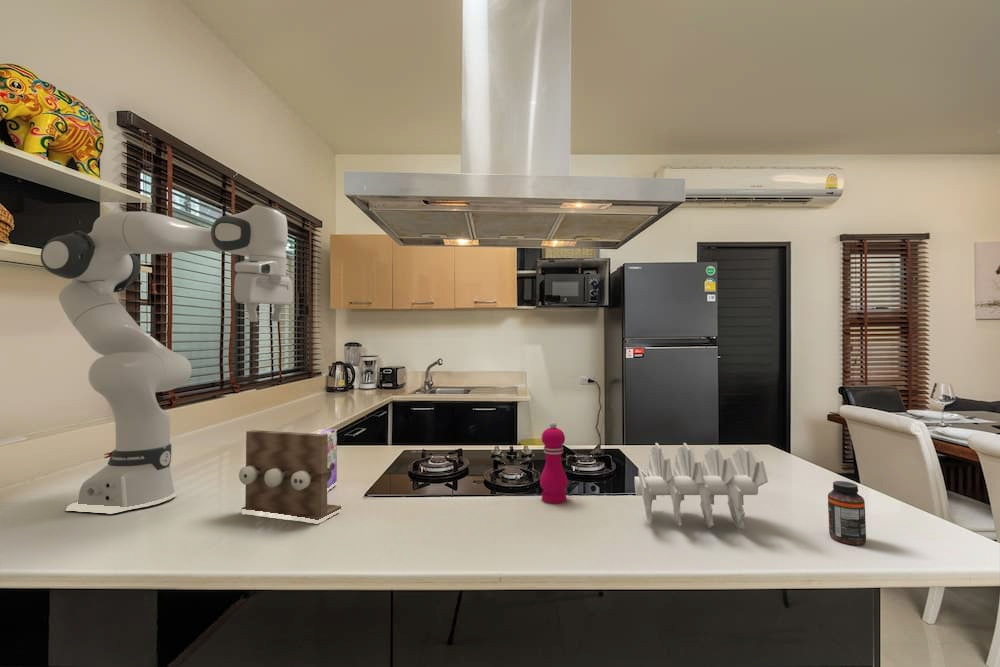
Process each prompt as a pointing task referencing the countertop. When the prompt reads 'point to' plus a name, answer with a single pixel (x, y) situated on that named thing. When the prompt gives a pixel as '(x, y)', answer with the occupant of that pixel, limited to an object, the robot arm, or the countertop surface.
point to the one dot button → (249, 474)
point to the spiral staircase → (701, 480)
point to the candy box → (330, 454)
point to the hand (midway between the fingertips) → (265, 321)
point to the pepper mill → (553, 466)
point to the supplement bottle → (846, 514)
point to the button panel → (288, 473)
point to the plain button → (274, 477)
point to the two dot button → (301, 480)
